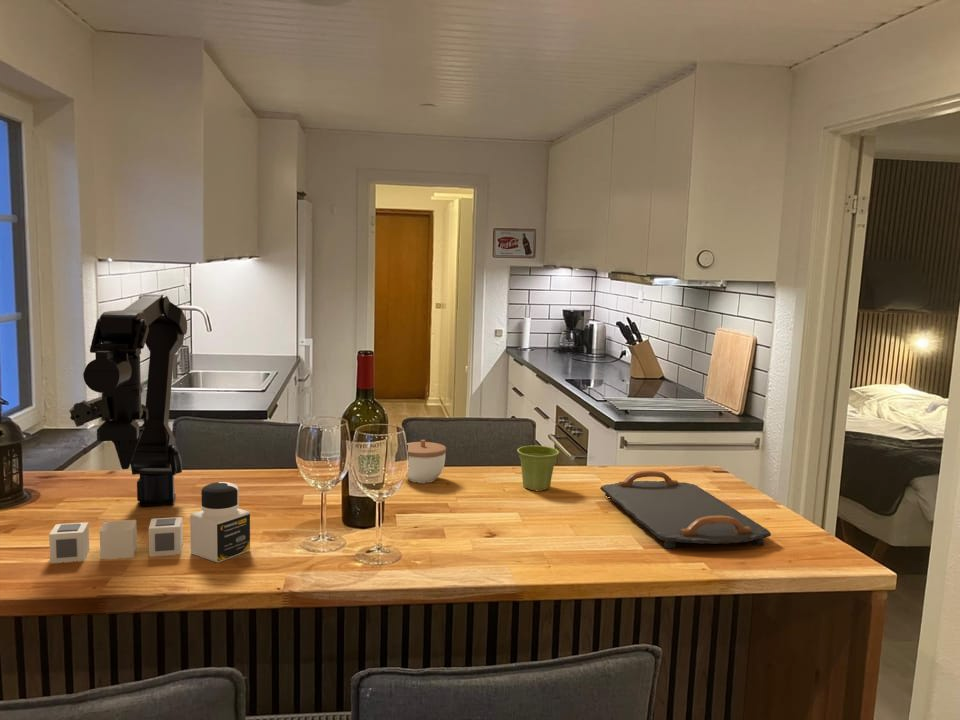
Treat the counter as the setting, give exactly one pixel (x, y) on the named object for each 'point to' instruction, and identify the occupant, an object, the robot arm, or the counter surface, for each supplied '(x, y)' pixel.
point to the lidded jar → (425, 461)
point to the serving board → (682, 512)
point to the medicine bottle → (220, 524)
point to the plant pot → (537, 466)
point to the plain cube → (118, 539)
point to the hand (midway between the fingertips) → (125, 468)
